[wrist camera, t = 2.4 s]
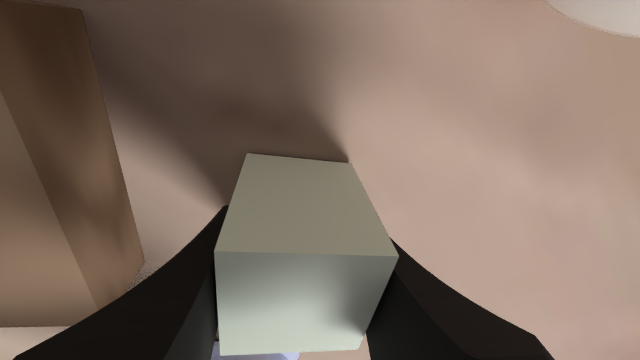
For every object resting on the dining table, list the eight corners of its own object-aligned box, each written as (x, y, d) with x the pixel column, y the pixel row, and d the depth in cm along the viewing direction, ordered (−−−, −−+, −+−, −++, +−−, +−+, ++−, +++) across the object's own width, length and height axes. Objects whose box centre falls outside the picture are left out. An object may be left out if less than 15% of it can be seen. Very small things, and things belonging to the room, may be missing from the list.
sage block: (332, 239, 15) (357, 349, 9) (244, 235, 14) (220, 355, 9) (351, 163, 12) (399, 256, 7) (246, 153, 11) (213, 250, 6)
